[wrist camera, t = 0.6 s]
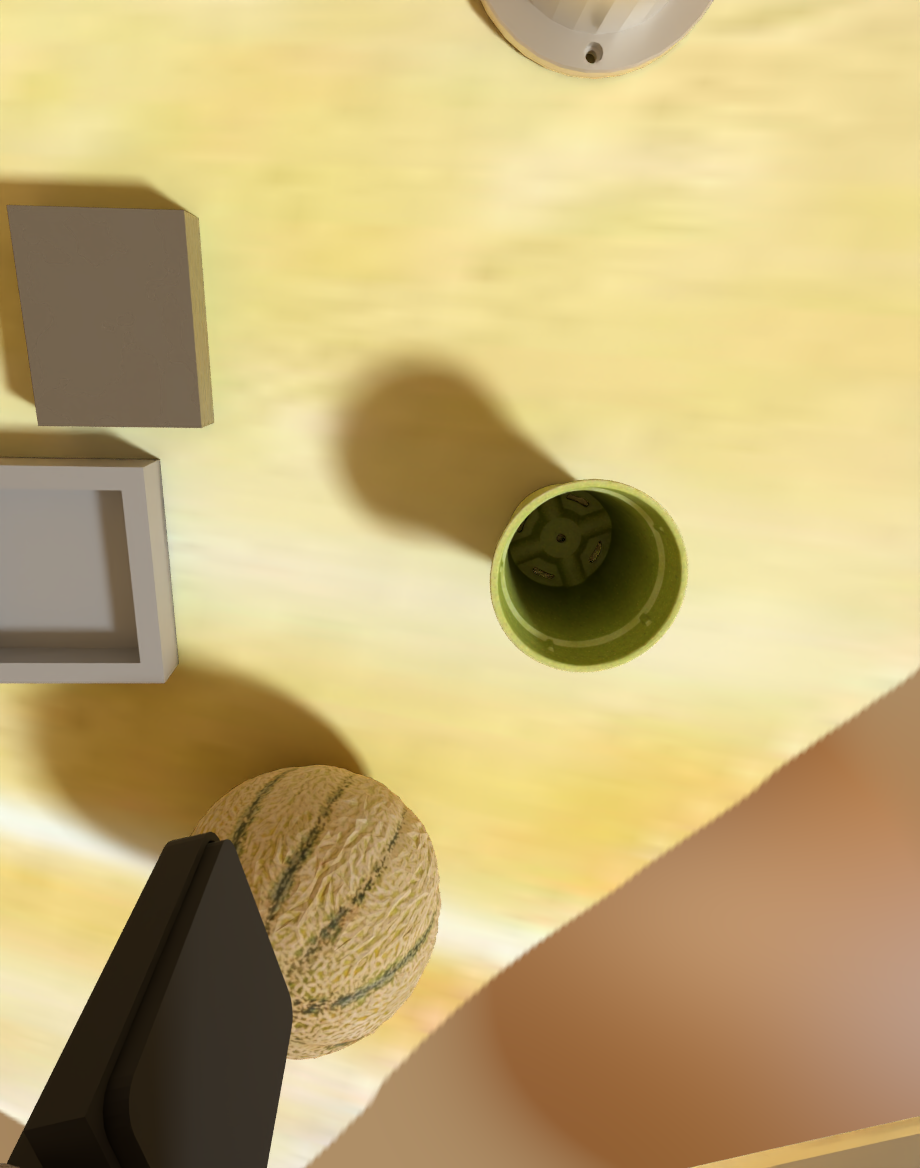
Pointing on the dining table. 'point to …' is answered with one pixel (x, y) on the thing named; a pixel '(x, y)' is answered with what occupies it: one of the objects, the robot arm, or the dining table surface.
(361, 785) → the cantaloupe
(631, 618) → the plant pot
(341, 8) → the dining table surface
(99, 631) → the tray
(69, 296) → the grey rectangular block
